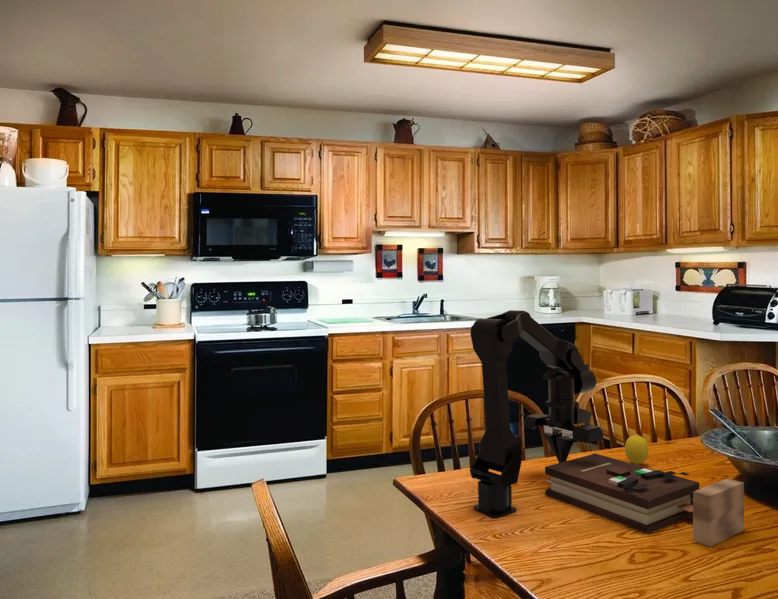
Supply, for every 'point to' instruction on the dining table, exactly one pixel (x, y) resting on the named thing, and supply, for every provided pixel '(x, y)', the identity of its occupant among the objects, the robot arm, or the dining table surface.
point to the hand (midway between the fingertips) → (562, 464)
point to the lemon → (636, 449)
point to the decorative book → (623, 491)
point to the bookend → (718, 511)
